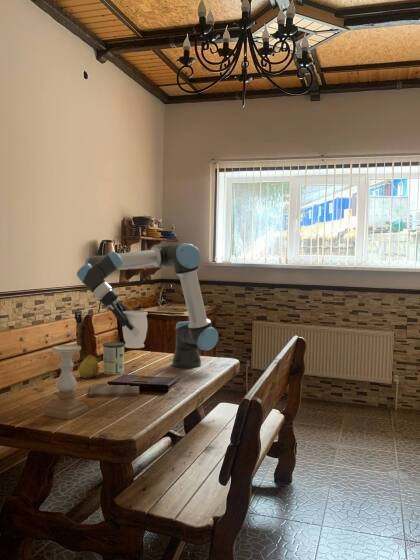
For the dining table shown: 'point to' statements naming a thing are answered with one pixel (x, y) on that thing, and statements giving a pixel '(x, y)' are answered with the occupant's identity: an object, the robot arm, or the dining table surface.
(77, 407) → the candle holder
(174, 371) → the dining table surface
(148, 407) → the dining table surface
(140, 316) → the jar
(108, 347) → the coffee can
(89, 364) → the fruit
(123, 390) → the walnut board
